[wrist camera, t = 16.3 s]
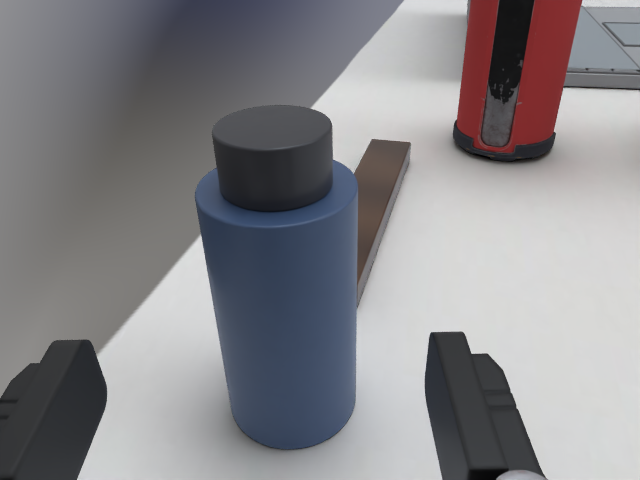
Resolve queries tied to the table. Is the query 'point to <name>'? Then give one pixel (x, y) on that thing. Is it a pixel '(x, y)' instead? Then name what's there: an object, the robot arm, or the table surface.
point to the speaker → (514, 76)
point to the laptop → (604, 48)
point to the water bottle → (282, 272)
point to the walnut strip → (377, 198)
